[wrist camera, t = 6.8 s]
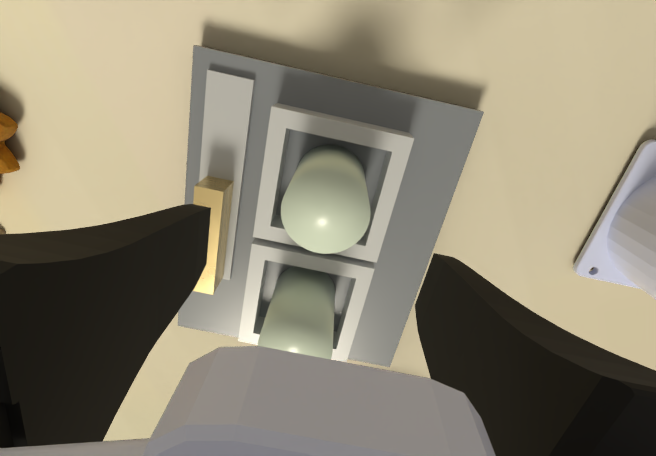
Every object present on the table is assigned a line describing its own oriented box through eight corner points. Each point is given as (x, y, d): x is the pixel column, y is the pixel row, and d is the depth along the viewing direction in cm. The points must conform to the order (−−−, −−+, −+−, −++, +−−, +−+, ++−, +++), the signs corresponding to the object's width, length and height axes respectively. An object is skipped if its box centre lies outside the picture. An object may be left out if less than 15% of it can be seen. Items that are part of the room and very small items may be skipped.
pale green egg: (373, 154, 19) (382, 183, 14) (353, 218, 20) (355, 262, 16) (304, 136, 19) (291, 159, 14) (289, 201, 20) (272, 241, 15)
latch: (233, 181, 19) (223, 192, 18) (223, 277, 22) (213, 294, 20) (207, 175, 19) (194, 185, 18) (199, 272, 22) (187, 289, 20)
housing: (477, 109, 19) (531, 127, 13) (387, 356, 25) (399, 437, 20) (201, 46, 18) (138, 37, 13) (183, 316, 25) (137, 387, 19)
